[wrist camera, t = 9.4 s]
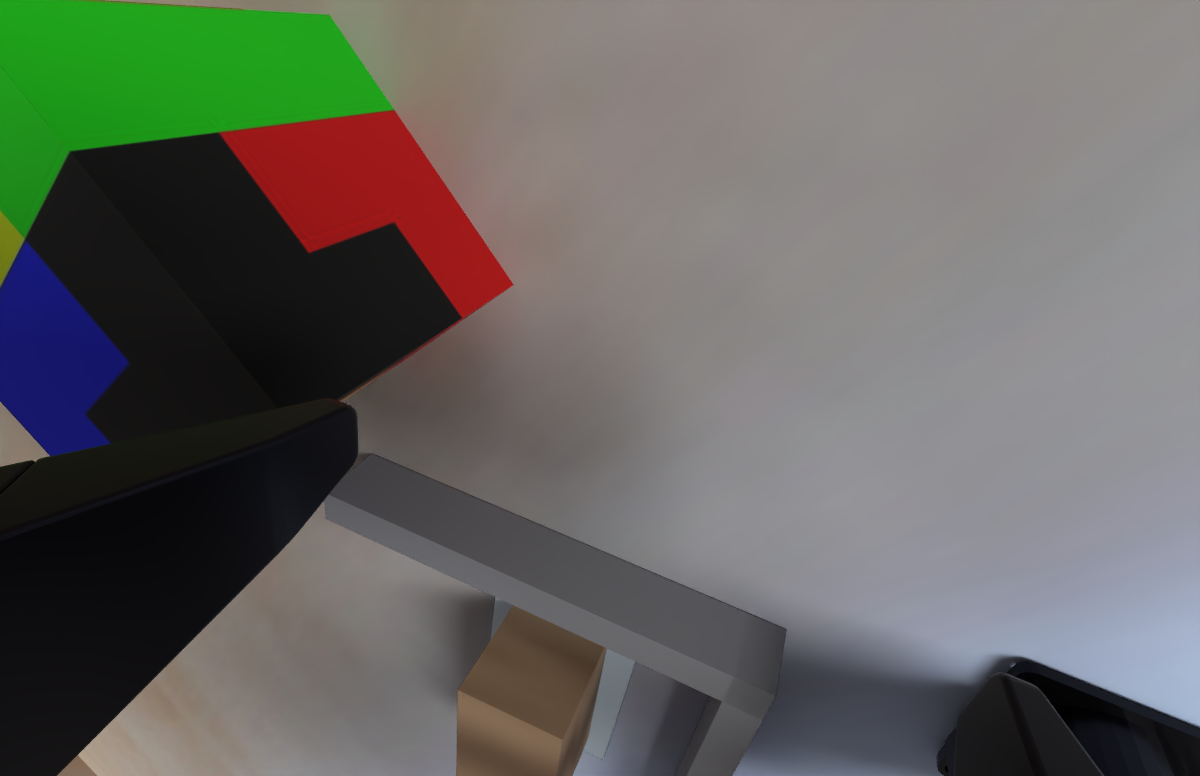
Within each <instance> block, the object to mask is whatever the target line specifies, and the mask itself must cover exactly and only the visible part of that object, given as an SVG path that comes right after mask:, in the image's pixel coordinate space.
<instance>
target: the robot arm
mask: <svg viewBox="0 0 1200 776" xmlns="http://www.w3.org/2000/svg"><path fill="white" fill-rule="evenodd" d="M357 454H358V427H357V413H356V411H355V409H354V408H353V407H352V406H350V405H348V404H345V403H343V402H340V401H338V400H335V399H331V398H326V399H321V400H316V401H311V402H306V403H301V404H297V405H292V406H287V407H282V408H278V409H273V410H268V411H263V412H259V413H254V414H249V415H244V416H240V417H235V418H230V419H225V420H221V421H216V422H211V423H206V424H202V425H197V426H192V427H187V428H183V429H178V430H173V431H168V432H164V433H159V434H154V435H149V436H145V437H140V438H135V439H130V440H126V441H121V442H116V443H111V444H107V445H102V446H97V447H92V448H88V449H83V450H78V451H73V452H69V453H64V454H59V455H54V456H50V457H45V458H40V459H38V460H37V461H36V462H35V461H32V460H30V461H25V462H20V463H16V464H11V465H6V466H2V467H0V776H57V775H58V774H59V773H60V772H61V771H62V770H63V769H64V768H65V767H66V766H67V765H68V764H69V763H70V762H71V761H72V760H73V759H74V758H75V757H76V756H77V755H78V754H79V753H80V752H81V751H82V750H83V749H84V748H85V747H86V746H87V745H88V744H89V743H90V742H91V741H92V740H93V739H94V738H95V737H96V736H97V735H98V734H99V733H100V732H101V731H102V730H103V729H104V728H105V727H106V726H107V725H108V724H109V723H110V722H111V721H112V720H113V719H114V718H115V717H116V716H117V715H118V714H119V713H120V712H121V711H122V710H123V709H124V708H125V707H126V706H127V705H128V704H129V703H130V702H131V701H132V700H133V699H134V698H135V697H136V696H137V695H138V694H139V693H140V692H141V691H142V690H143V689H144V688H145V687H146V686H147V685H148V684H149V683H150V682H151V681H152V680H153V679H154V678H155V677H156V676H157V675H158V674H159V673H160V672H161V671H162V670H163V669H164V668H165V667H166V666H167V665H168V664H169V663H170V662H171V661H172V660H173V659H174V658H175V657H176V656H177V655H178V654H179V653H180V652H181V651H182V650H183V649H184V648H185V647H186V646H187V645H188V644H189V643H190V642H191V641H192V640H193V639H194V638H195V637H196V636H197V635H198V634H199V633H200V632H201V631H202V630H203V629H204V628H205V627H206V626H207V625H208V624H209V623H210V622H211V621H212V620H213V619H214V618H215V617H216V616H217V615H218V614H219V613H220V612H221V611H222V610H223V609H224V608H225V607H226V606H227V605H228V604H229V603H230V602H231V601H232V600H233V599H234V598H235V597H236V596H237V595H238V594H239V593H240V592H241V591H242V590H243V589H244V588H245V587H246V586H247V585H248V584H249V583H250V582H251V581H252V580H253V579H254V578H255V577H256V576H257V575H258V574H259V573H260V572H261V571H262V570H263V569H264V568H265V567H266V566H267V565H268V564H269V563H270V562H271V561H272V560H273V559H274V558H275V557H276V556H277V555H278V554H279V552H280V551H281V550H282V549H283V548H284V547H285V546H286V545H287V544H288V543H289V542H290V541H291V540H292V538H293V537H294V536H295V535H296V534H297V533H298V532H299V530H300V529H301V528H302V527H303V526H304V524H305V523H306V522H307V521H308V519H309V518H310V517H311V516H312V515H313V513H314V512H315V511H316V510H317V508H318V507H319V506H320V505H321V504H322V502H323V501H324V500H325V499H326V497H327V496H328V495H329V494H330V493H331V491H332V490H333V489H334V488H335V486H336V485H337V484H338V483H339V481H340V480H341V479H342V478H343V477H344V475H345V474H346V473H347V472H348V470H349V469H350V468H351V467H352V465H353V464H354V462H355V460H356V458H357ZM1027 678H1034V679H1027ZM936 758H937V768H938V771H939V772H940V773H941V774H942V775H944V776H1200V729H1198V728H1195V727H1193V726H1190V725H1188V724H1185V723H1183V722H1180V721H1178V720H1175V719H1173V718H1170V717H1168V716H1165V715H1163V714H1160V713H1158V712H1155V711H1153V710H1150V709H1148V708H1145V707H1143V706H1140V705H1138V704H1135V703H1133V702H1130V701H1128V700H1125V699H1123V698H1120V697H1118V696H1115V695H1113V694H1110V693H1108V692H1105V691H1103V690H1100V689H1098V688H1095V687H1093V686H1090V685H1088V684H1085V683H1083V682H1080V681H1078V680H1075V679H1073V678H1070V677H1068V676H1065V675H1063V674H1060V673H1058V672H1055V671H1053V670H1050V669H1048V668H1045V667H1043V666H1040V665H1038V664H1034V663H1030V662H1022V663H1018V664H1016V665H1015V666H1013V667H1012V668H1011V669H1010V671H1009V672H1008V673H1003V672H997V673H995V674H993V675H992V676H991V677H989V678H988V680H987V681H986V682H985V683H984V684H983V686H982V687H981V688H980V689H979V690H978V692H977V693H976V694H975V695H974V696H973V697H972V699H971V700H970V701H969V702H968V703H967V705H966V706H965V707H964V708H963V710H962V712H961V714H960V716H959V719H958V724H957V727H956V728H955V729H954V730H953V732H952V733H951V734H950V735H949V736H948V737H947V739H946V740H945V746H944V747H943V748H942V749H941V751H940V752H939V753H938V754H937V757H936Z"/></svg>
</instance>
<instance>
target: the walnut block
mask: <svg viewBox="0 0 1200 776" xmlns="http://www.w3.org/2000/svg"><path fill="white" fill-rule="evenodd" d="M606 650H607V648H605V647H603V646H601V645H598V644H596V643H594V642H592V641H590V640H588V639H585V638H583V637H581V636H579V635H577V634H575V633H572V632H570V631H568V630H566V629H564V628H562V627H559V626H557V625H555V624H553V623H551V622H548V621H546V620H544V619H542V618H540V617H538V616H535V615H533V614H531V613H529V612H527V611H525V610H522V609H520V608H518V607H516V606H514V605H513V606H512V608H511V609H510V611H509V612H508V614H507V615H506V617H505V619H504V620H503V622H502V623H501V625H500V626H499V628H498V629H497V631H496V632H495V634H494V635H493V637H492V638H491V640H490V642H489V643H488V645H487V646H486V648H485V649H484V651H483V652H482V654H481V655H480V657H479V658H478V660H477V661H476V663H475V664H474V666H473V668H472V669H471V671H470V672H469V674H468V675H467V677H466V678H465V680H464V681H463V683H462V684H461V686H460V687H459V689H458V708H457V766H456V776H573V773H574V771H575V768H576V766H577V764H578V761H579V759H580V756H581V754H582V752H583V749H584V747H585V745H586V742H587V740H588V736H589V731H590V727H591V722H592V717H593V712H594V707H595V703H596V698H597V693H598V688H599V684H600V679H601V674H602V669H603V665H604V660H605V655H606Z"/></svg>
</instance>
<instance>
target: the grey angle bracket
mask: <svg viewBox="0 0 1200 776" xmlns="http://www.w3.org/2000/svg"><path fill="white" fill-rule="evenodd" d="M324 502H325V514H326V519H327V520H330V521H332V522H334V523H336V524H338V525H340V526H343V527H345V528H347V529H349V530H351V531H353V532H356V533H358V534H360V535H362V536H364V537H366V538H369V539H371V540H373V541H375V542H377V543H379V544H382V545H384V546H386V547H388V548H390V549H392V550H395V551H397V552H399V553H401V554H403V555H405V556H408V557H410V558H412V559H414V560H416V561H418V562H421V563H423V564H425V565H427V566H429V567H431V568H434V569H436V570H438V571H440V572H442V573H444V574H447V575H449V576H451V577H453V578H455V579H457V580H460V581H462V582H464V583H466V584H468V585H470V586H473V587H475V588H477V589H479V590H481V591H483V592H486V593H488V594H490V595H492V596H494V597H496V598H499V599H501V600H503V601H505V602H507V603H509V604H512V605H514V606H516V607H518V608H520V609H522V610H525V611H527V612H529V613H531V614H533V615H535V616H538V617H540V618H542V619H544V620H546V621H548V622H551V623H553V624H555V625H557V626H559V627H562V628H564V629H566V630H568V631H570V632H572V633H575V634H577V635H579V636H581V637H583V638H585V639H588V640H590V641H592V642H594V643H596V644H598V645H601V646H603V647H605V648H607V649H609V650H611V651H614V652H616V653H618V654H620V655H622V656H624V657H627V658H629V659H631V660H633V661H635V662H637V663H640V664H642V665H644V666H646V667H648V668H650V669H653V670H655V671H657V672H659V673H661V674H663V675H666V676H668V677H670V678H672V679H674V680H676V681H679V682H681V683H683V684H685V685H687V686H689V687H692V688H694V689H696V690H698V691H700V692H702V693H705V694H707V695H709V696H710V699H709V701H708V703H707V705H706V707H705V709H704V712H703V714H702V716H701V718H700V720H699V723H698V725H697V727H696V729H695V731H694V733H693V736H692V738H691V740H690V742H689V744H688V747H687V749H686V751H685V753H684V755H683V757H682V760H681V762H680V764H679V766H678V768H677V771H676V773H675V775H674V776H732V775H733V773H734V771H735V770H736V768H737V766H738V764H739V762H740V760H741V759H742V757H743V755H744V753H745V751H746V750H747V748H748V746H749V744H750V742H751V741H752V739H753V737H754V735H755V733H756V732H757V730H758V728H759V726H760V724H761V723H762V721H763V719H764V717H765V715H766V714H767V712H768V710H769V708H770V706H771V705H772V703H773V701H774V699H775V697H776V694H777V687H778V681H779V675H780V668H781V662H782V655H783V649H784V642H785V636H786V629H784V628H781V627H779V626H777V625H774V624H772V623H770V622H767V621H765V620H763V619H760V618H758V617H756V616H753V615H751V614H748V613H746V612H744V611H741V610H739V609H737V608H734V607H732V606H730V605H727V604H725V603H723V602H720V601H718V600H715V599H713V598H711V597H708V596H706V595H704V594H701V593H699V592H697V591H694V590H692V589H690V588H687V587H685V586H682V585H680V584H678V583H675V582H673V581H671V580H668V579H666V578H664V577H661V576H659V575H656V574H654V573H652V572H649V571H647V570H645V569H642V568H640V567H638V566H635V565H633V564H631V563H628V562H626V561H623V560H621V559H619V558H616V557H614V556H612V555H609V554H607V553H605V552H602V551H600V550H598V549H595V548H593V547H590V546H588V545H586V544H583V543H581V542H579V541H576V540H574V539H572V538H569V537H567V536H564V535H562V534H560V533H557V532H555V531H553V530H550V529H548V528H546V527H543V526H541V525H539V524H536V523H534V522H531V521H529V520H527V519H524V518H522V517H520V516H517V515H515V514H513V513H510V512H508V511H506V510H503V509H501V508H498V507H496V506H494V505H491V504H489V503H487V502H484V501H482V500H480V499H477V498H475V497H472V496H470V495H468V494H465V493H463V492H461V491H458V490H456V489H454V488H451V487H449V486H447V485H444V484H442V483H439V482H437V481H435V480H432V479H430V478H428V477H425V476H423V475H421V474H418V473H416V472H414V471H411V470H409V469H406V468H404V467H402V466H399V465H397V464H395V463H392V462H390V461H388V460H385V459H383V458H381V457H378V456H376V455H373V454H371V455H370V456H368V457H367V458H366V459H365V460H363V461H362V462H361V463H360V464H359V465H357V466H356V467H355V468H354V469H352V470H351V471H350V472H349V473H347V474H346V475H345V476H344V477H343V478H342V479H341V480H340V481H339V483H338V484H337V485H336V486H335V488H334V489H333V490H332V491H331V493H330V494H329V495H328V496H327V497H326V499H325V500H324Z"/></svg>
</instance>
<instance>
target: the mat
mask: <svg viewBox="0 0 1200 776" xmlns="http://www.w3.org/2000/svg"><path fill="white" fill-rule="evenodd" d="M512 606H513V605H512V604H509V603H507V602H505V601H503V600H501V599H499V598H496V597H495V605H494V613H493V621H492V629H491V637H490V640H491V638H492V637H493V635H494V634H495V632H496V631H497V629H498V628H499V626H500V625H501V623H502V622H503V620H504V619H505V617H506V615H507V614H508V612H509V611H510V609H511V608H512ZM634 665H635V661H633V660H631V659H629V658H627V657H624V656H622V655H620V654H618V653H616V652H614V651H611V650H609V649H607V650H606V655H605V660H604V665H603V669H602V674H601V679H600V684H599V688H598V693H597V698H596V703H595V707H594V712H593V717H592V722H591V727H590V731H589V736H588V740H587V742H586V745H585V747H584V749H583V750H584V751H586V752H588V753H590V754H592V755H594V756H596V757H598V758H600V759H602V760H603V758H604V756H605V753H606V750H607V747H608V744H609V741H610V738H611V735H612V732H613V729H614V726H615V723H616V720H617V717H618V714H619V711H620V708H621V705H622V702H623V698H624V695H625V692H626V689H627V686H628V683H629V680H630V677H631V674H632V671H633V668H634Z"/></svg>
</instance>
